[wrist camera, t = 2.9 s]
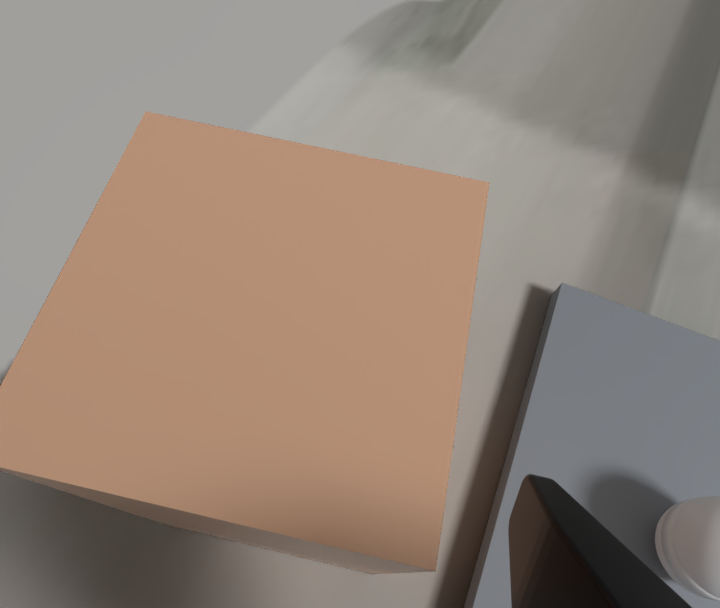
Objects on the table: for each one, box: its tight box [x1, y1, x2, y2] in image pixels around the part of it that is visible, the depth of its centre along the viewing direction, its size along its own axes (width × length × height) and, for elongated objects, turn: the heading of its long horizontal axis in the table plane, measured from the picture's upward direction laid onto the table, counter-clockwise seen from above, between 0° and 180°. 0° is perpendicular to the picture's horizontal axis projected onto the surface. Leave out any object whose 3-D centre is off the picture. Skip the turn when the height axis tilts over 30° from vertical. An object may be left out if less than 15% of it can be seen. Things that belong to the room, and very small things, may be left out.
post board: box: [464, 283, 720, 608], centre depth 15 cm, size 14×10×4 cm
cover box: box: [0, 112, 489, 574], centre depth 13 cm, size 6×6×10 cm
